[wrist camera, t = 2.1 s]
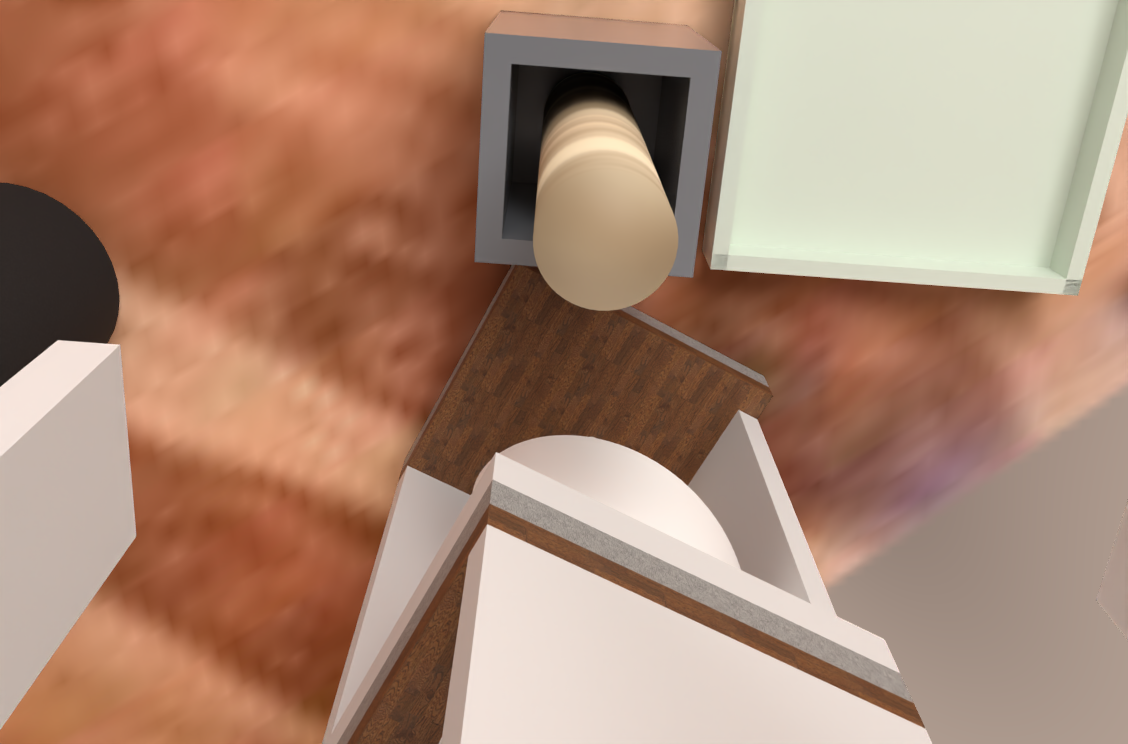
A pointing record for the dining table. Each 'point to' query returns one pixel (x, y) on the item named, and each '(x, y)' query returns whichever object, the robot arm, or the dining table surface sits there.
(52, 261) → the mug
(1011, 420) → the dining table surface
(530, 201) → the pen cup
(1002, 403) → the dining table surface
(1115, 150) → the tray
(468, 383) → the white coffee maker
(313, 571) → the dining table surface
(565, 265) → the dowel
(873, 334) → the dining table surface
